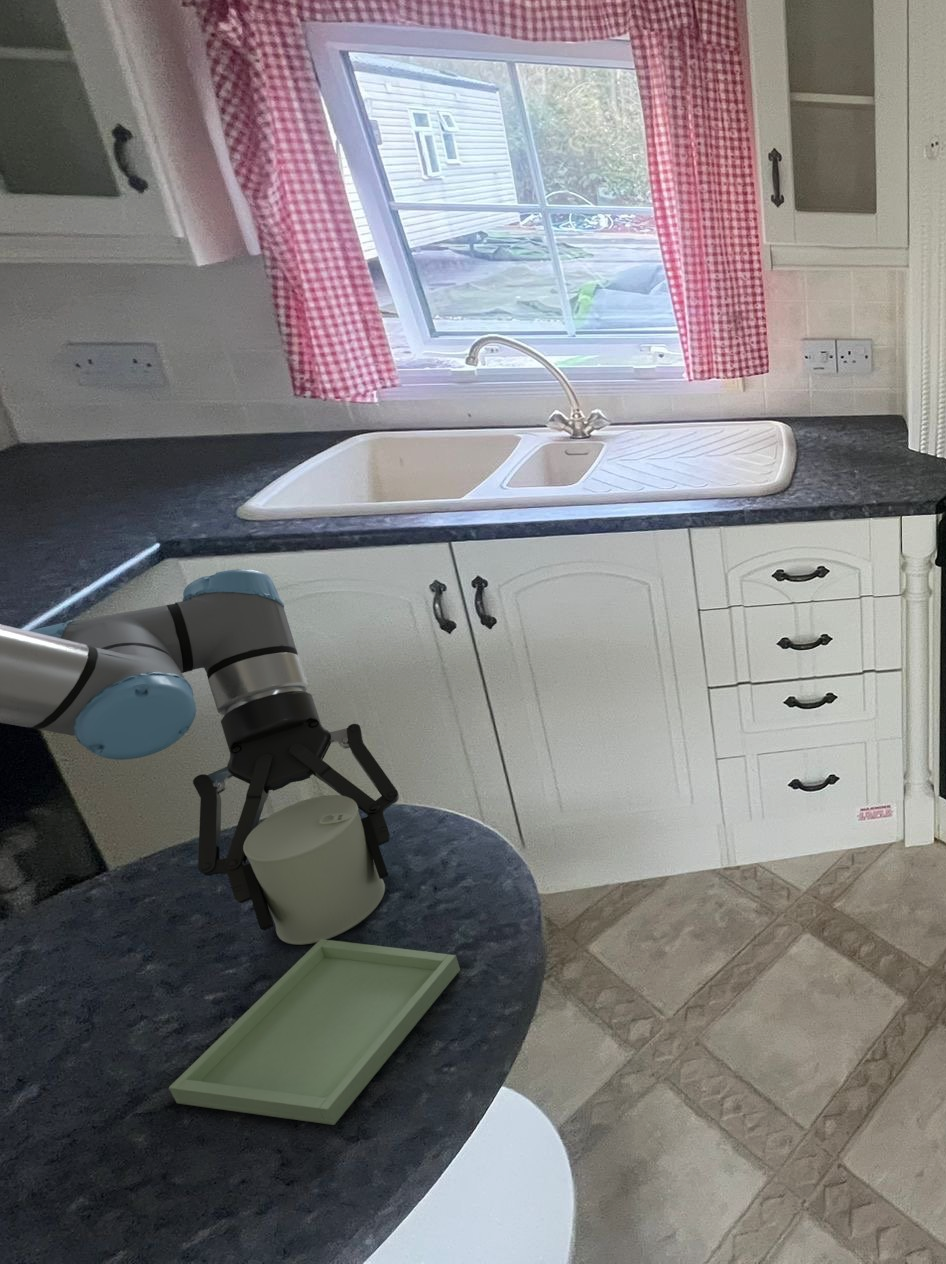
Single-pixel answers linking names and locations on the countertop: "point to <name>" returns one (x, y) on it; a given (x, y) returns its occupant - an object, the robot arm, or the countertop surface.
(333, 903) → the can
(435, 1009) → the countertop surface
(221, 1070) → the tray
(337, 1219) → the countertop surface
